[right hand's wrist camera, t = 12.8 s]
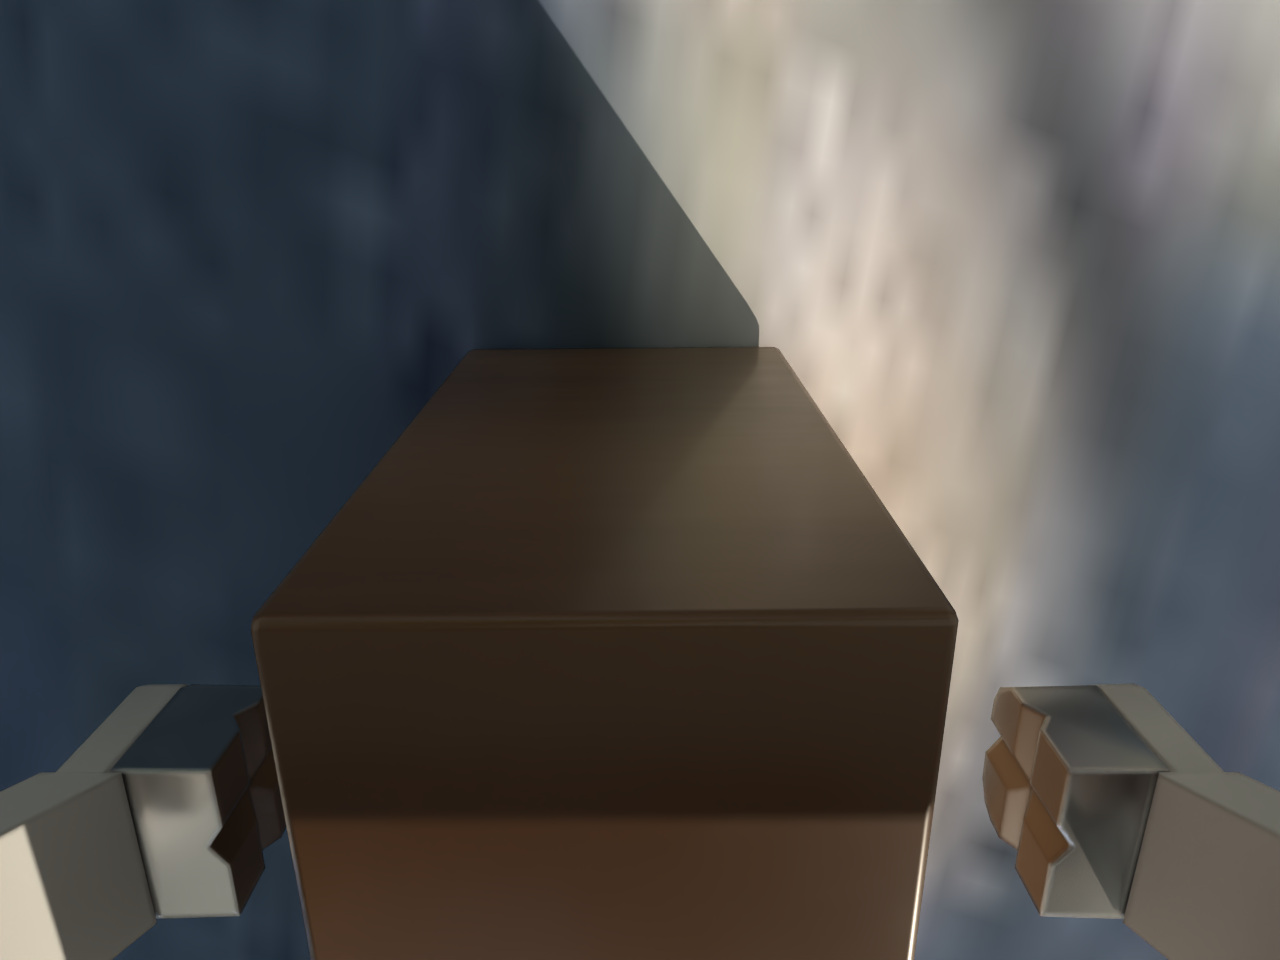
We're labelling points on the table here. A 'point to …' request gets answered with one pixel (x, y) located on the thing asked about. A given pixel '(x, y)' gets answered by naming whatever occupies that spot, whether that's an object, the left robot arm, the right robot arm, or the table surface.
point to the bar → (610, 677)
